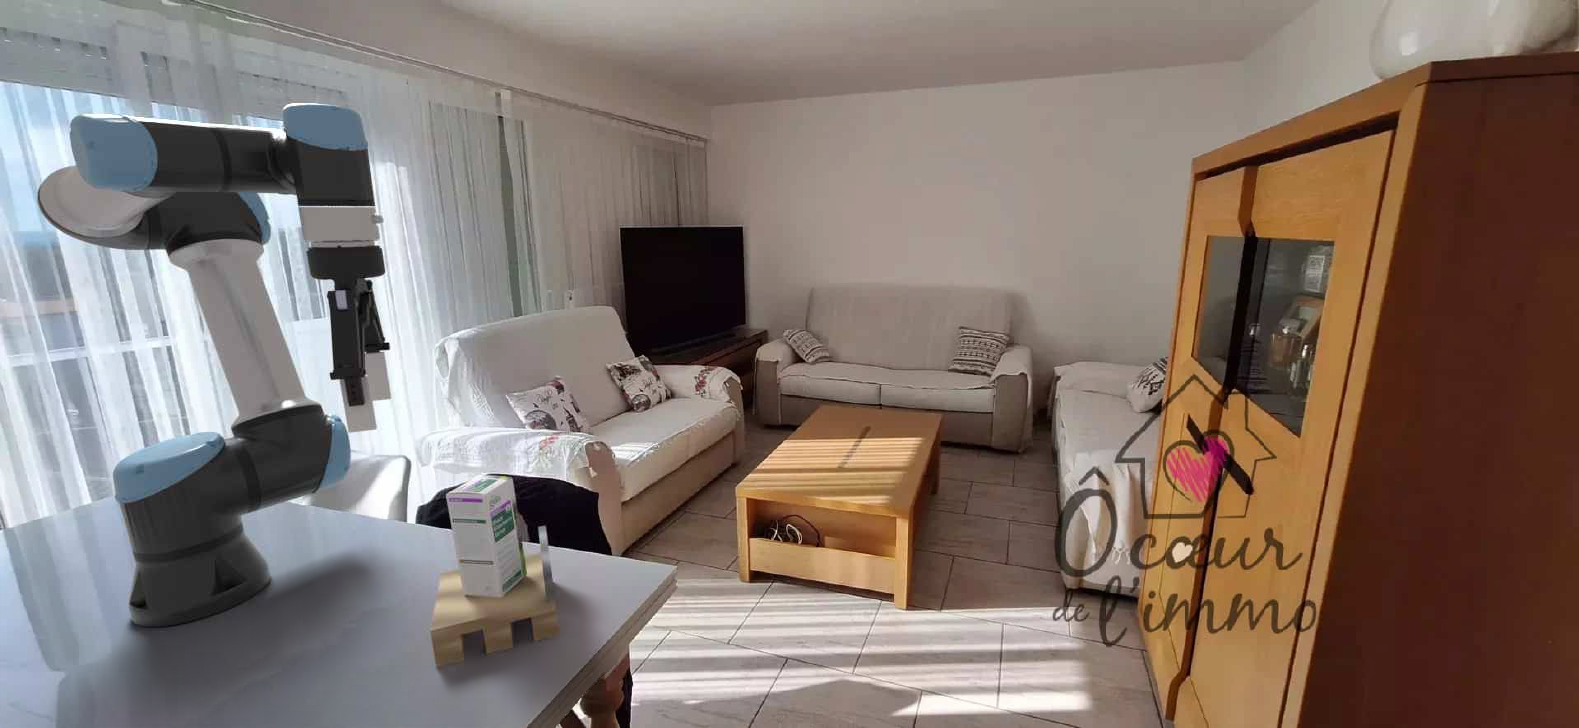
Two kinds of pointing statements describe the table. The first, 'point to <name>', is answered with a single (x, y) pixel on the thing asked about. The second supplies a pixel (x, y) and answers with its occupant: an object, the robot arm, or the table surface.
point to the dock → (494, 610)
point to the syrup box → (487, 536)
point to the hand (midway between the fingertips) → (371, 414)
